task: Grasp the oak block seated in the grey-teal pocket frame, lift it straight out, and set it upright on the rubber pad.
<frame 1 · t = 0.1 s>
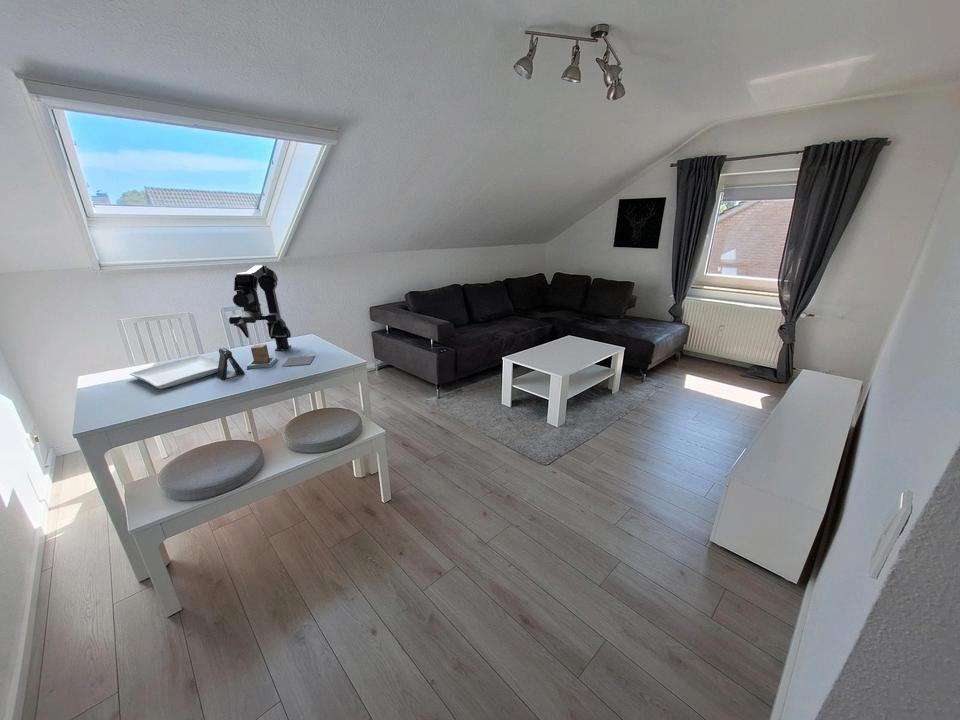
hand: (259, 337, 164), 14 cm above the table, fingers open, 9 cm apart
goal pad: (299, 361, 177), on the table
square plate: (183, 376, 161), on the table
oak block: (260, 355, 172), in the pocket frame
pocket frame: (262, 364, 173), on the table
phone stand: (231, 375, 161), on the table
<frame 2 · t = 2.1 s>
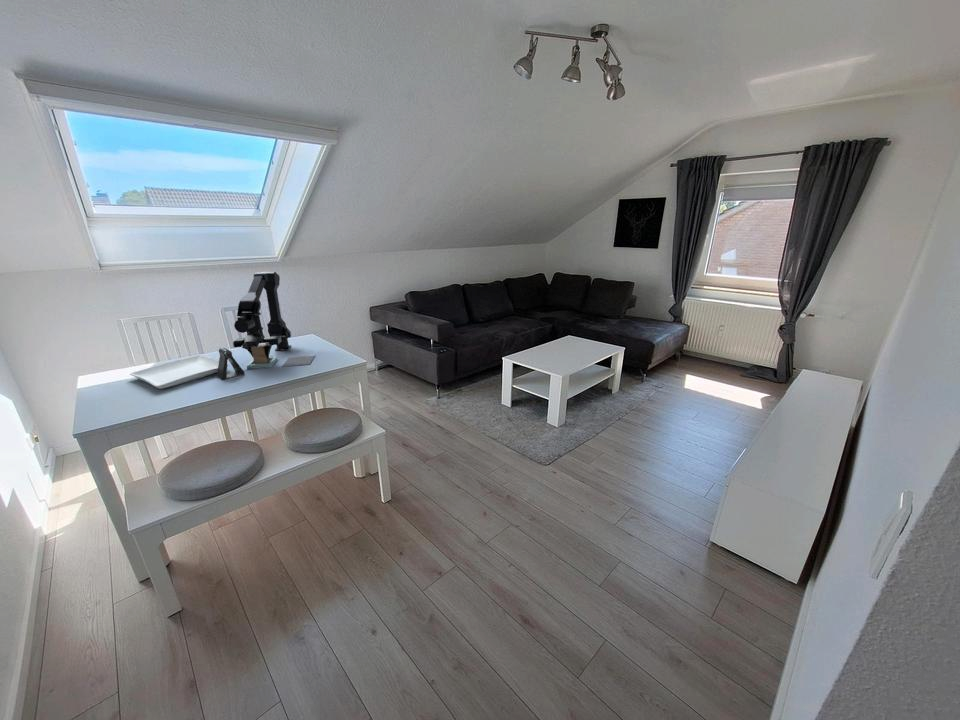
hand: (261, 359, 173), 3 cm above the table, fingers closed on oak block, 5 cm apart
oak block: (260, 355, 172), in the pocket frame, touching gripper
everything else where it was.
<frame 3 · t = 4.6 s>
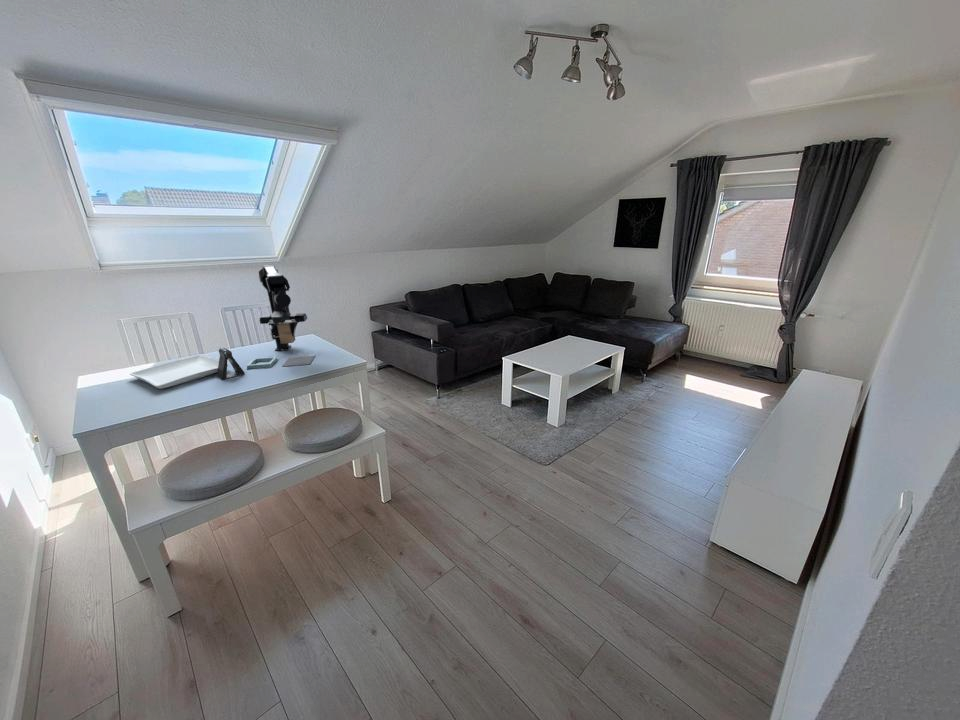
hand: (287, 336, 171), 13 cm above the table, fingers closed on oak block, 5 cm apart
oak block: (286, 332, 171), point 15 cm above the table, touching gripper
everything else where it was.
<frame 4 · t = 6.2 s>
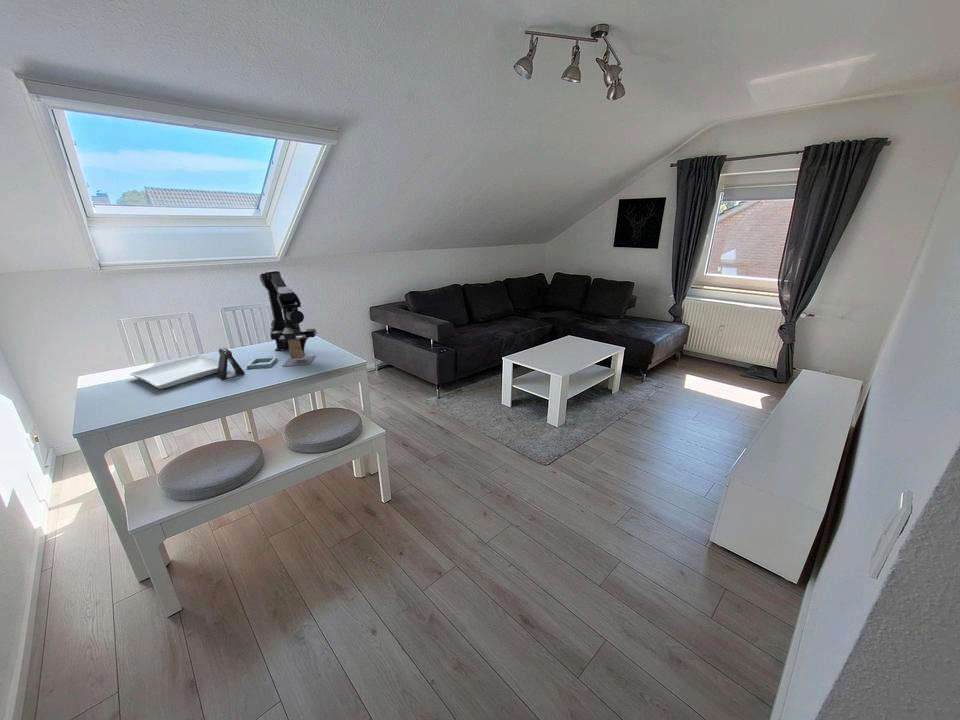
hand: (297, 351, 175), 5 cm above the table, fingers closed on oak block, 5 cm apart
oak block: (296, 347, 174), point 7 cm above the table, touching gripper
everything else where it was.
when the fingers open (4 cm above the table, at t = 7.2 s): oak block drops 1 cm, resting on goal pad.
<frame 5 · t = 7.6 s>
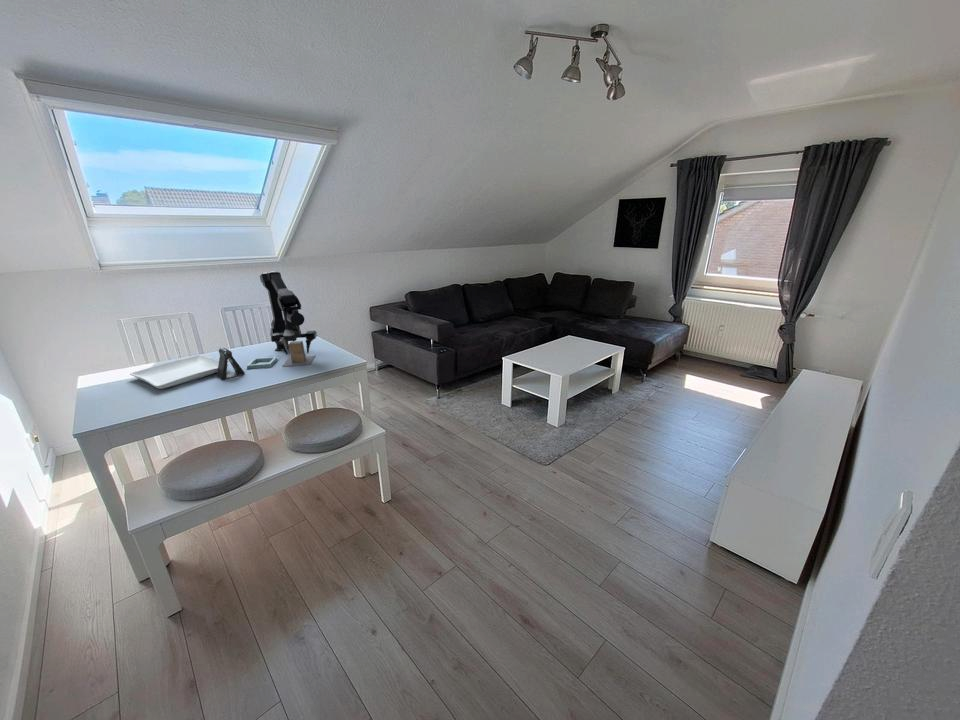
hand: (297, 353, 175), 4 cm above the table, fingers open, 9 cm apart
oak block: (297, 351, 175), on the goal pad
everything else where it was.
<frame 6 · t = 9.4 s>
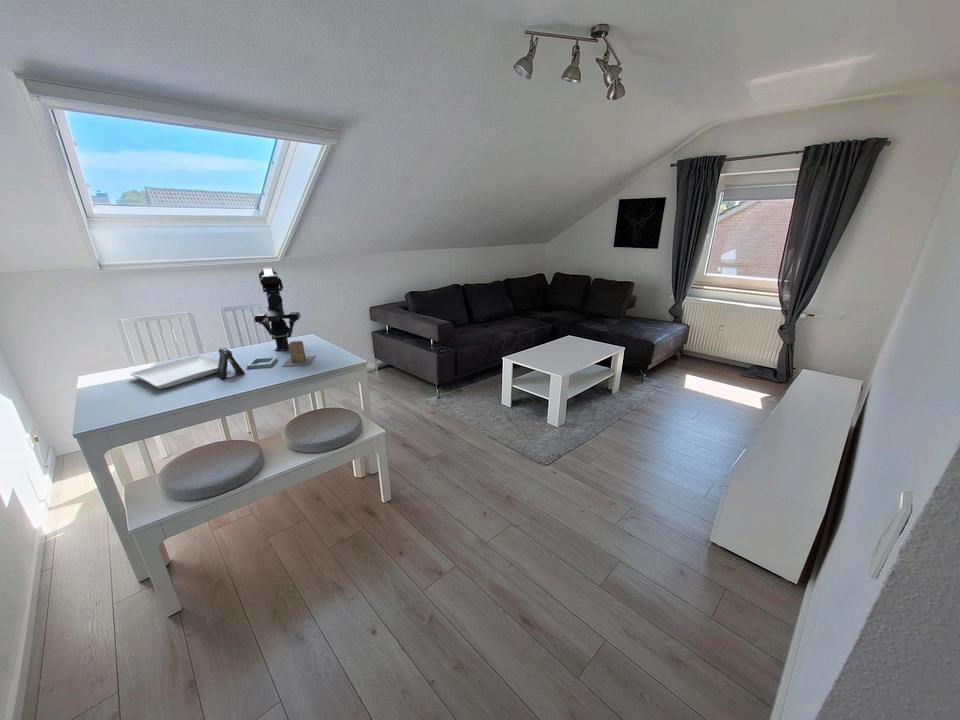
hand: (281, 334, 179), 12 cm above the table, fingers open, 9 cm apart
nothing on the table moved.
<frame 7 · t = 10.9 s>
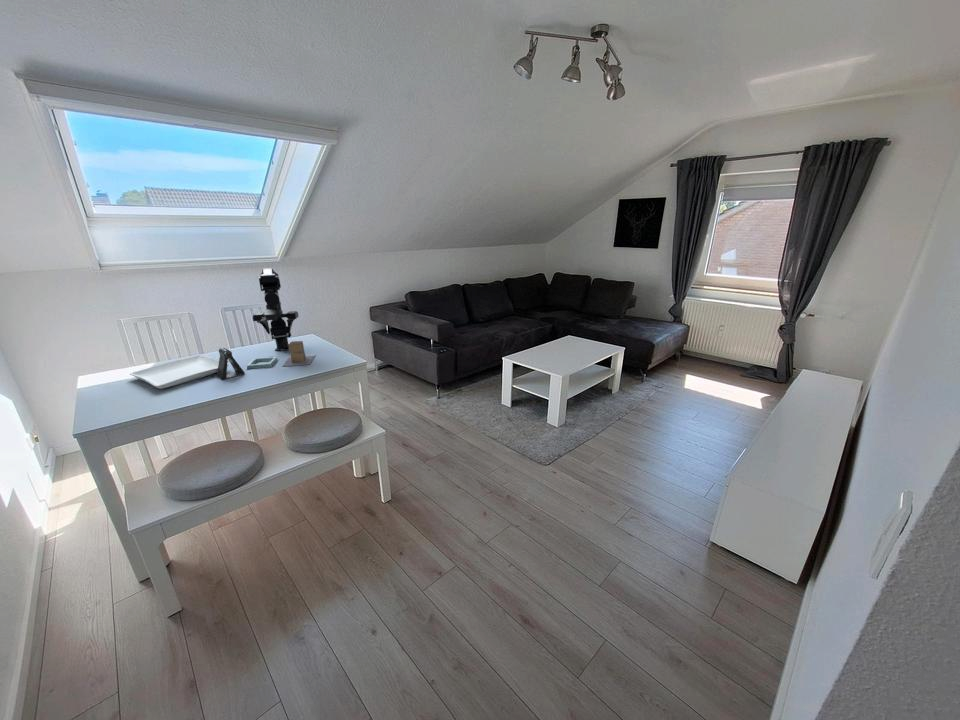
hand: (279, 333, 179), 12 cm above the table, fingers open, 9 cm apart
nothing on the table moved.
at the end: oak block inside the target area on the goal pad (0.0 cm from its centre), point 4.9 cm above the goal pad's base; oak block tilted 0°; the gripper is holding nothing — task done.
